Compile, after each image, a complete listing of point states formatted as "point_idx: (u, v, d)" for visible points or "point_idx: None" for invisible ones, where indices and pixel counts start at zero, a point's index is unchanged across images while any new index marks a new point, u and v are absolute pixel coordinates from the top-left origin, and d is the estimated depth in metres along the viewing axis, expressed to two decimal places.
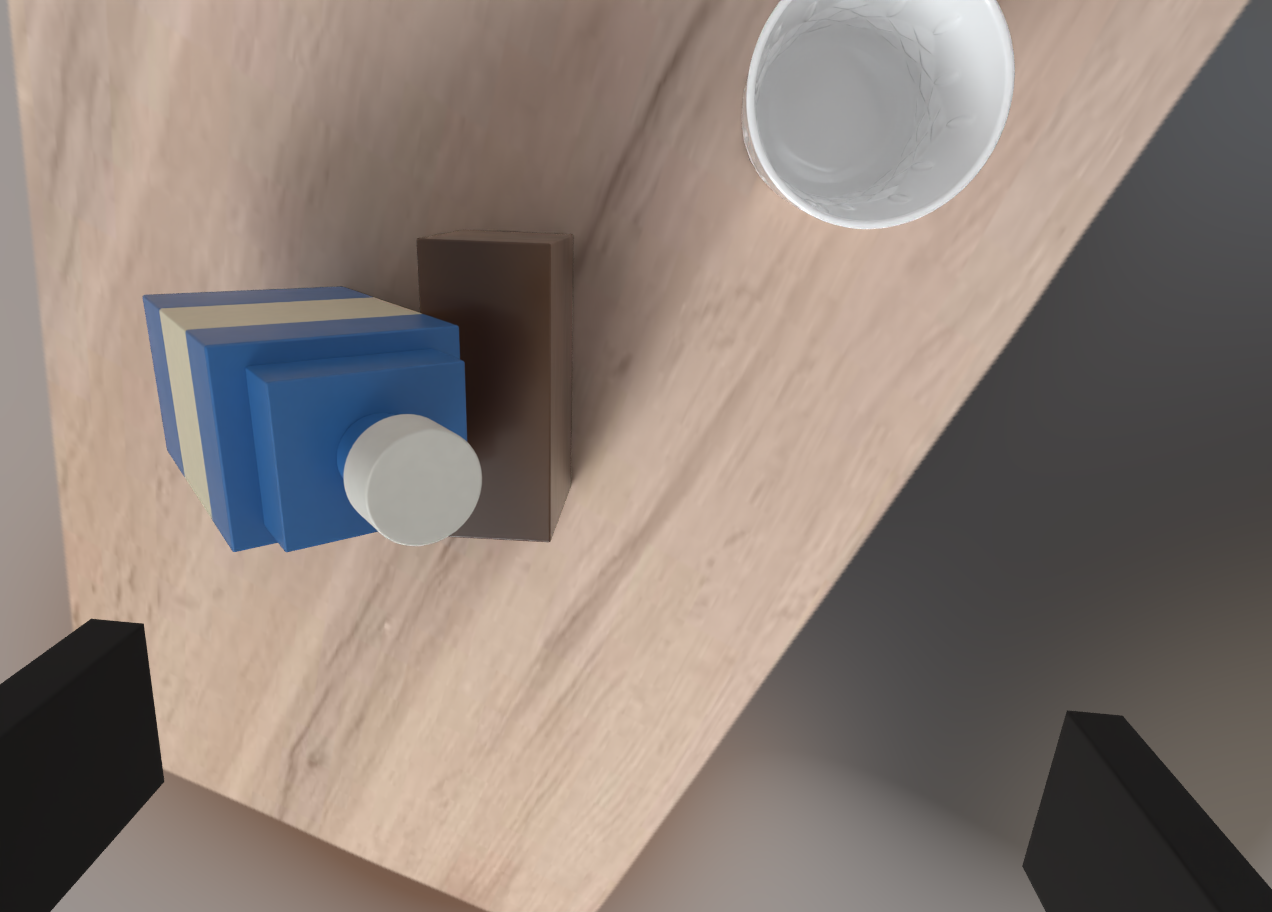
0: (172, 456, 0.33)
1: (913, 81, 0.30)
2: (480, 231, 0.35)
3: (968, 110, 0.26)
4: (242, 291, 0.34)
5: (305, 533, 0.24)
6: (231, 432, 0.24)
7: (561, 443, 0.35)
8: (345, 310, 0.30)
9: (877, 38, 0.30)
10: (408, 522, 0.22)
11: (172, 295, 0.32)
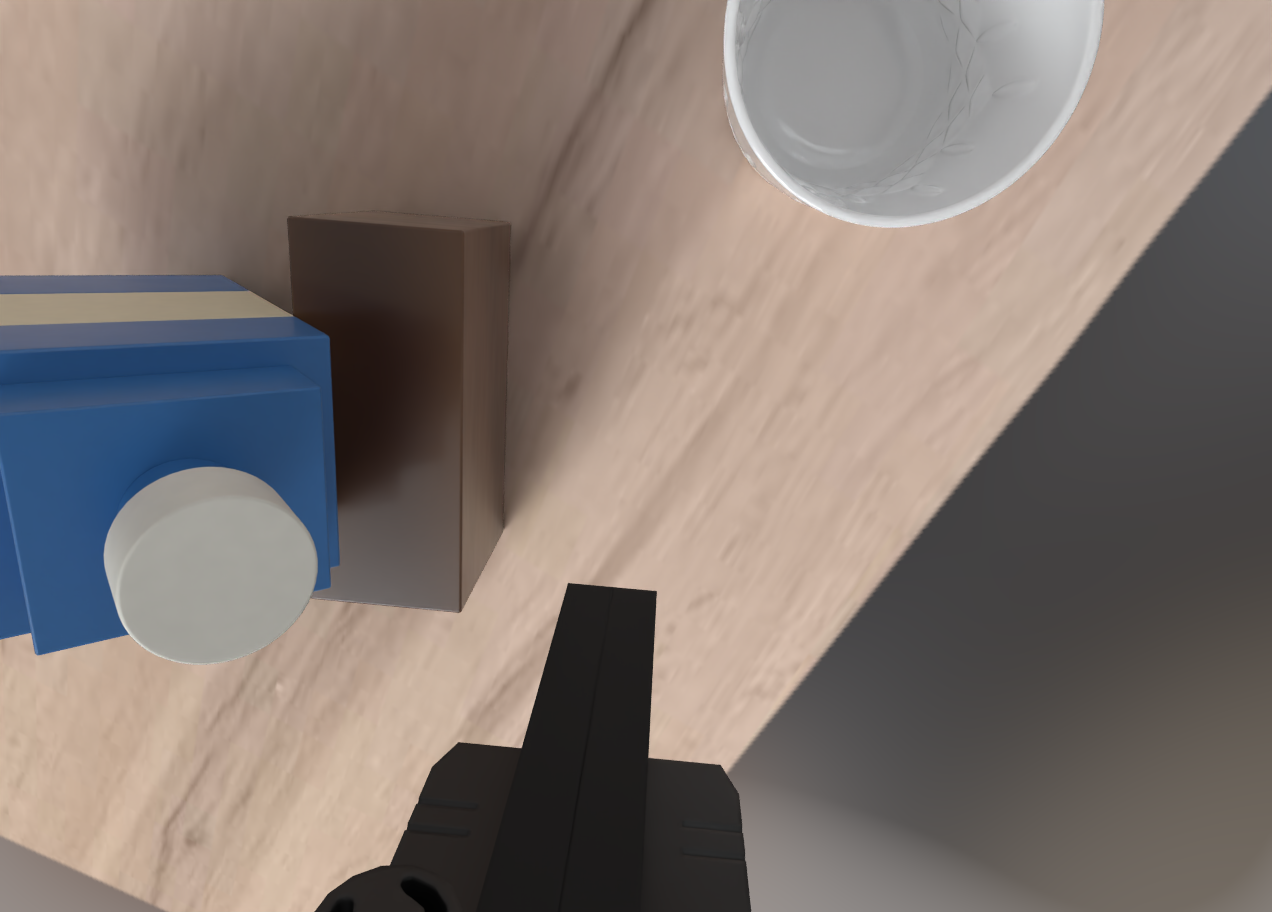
0: None
1: (947, 41, 0.23)
2: (392, 213, 0.28)
3: (1027, 72, 0.19)
4: (81, 276, 0.26)
5: (68, 628, 0.17)
6: None
7: (484, 484, 0.28)
8: (191, 307, 0.23)
9: None
10: (193, 632, 0.15)
11: None
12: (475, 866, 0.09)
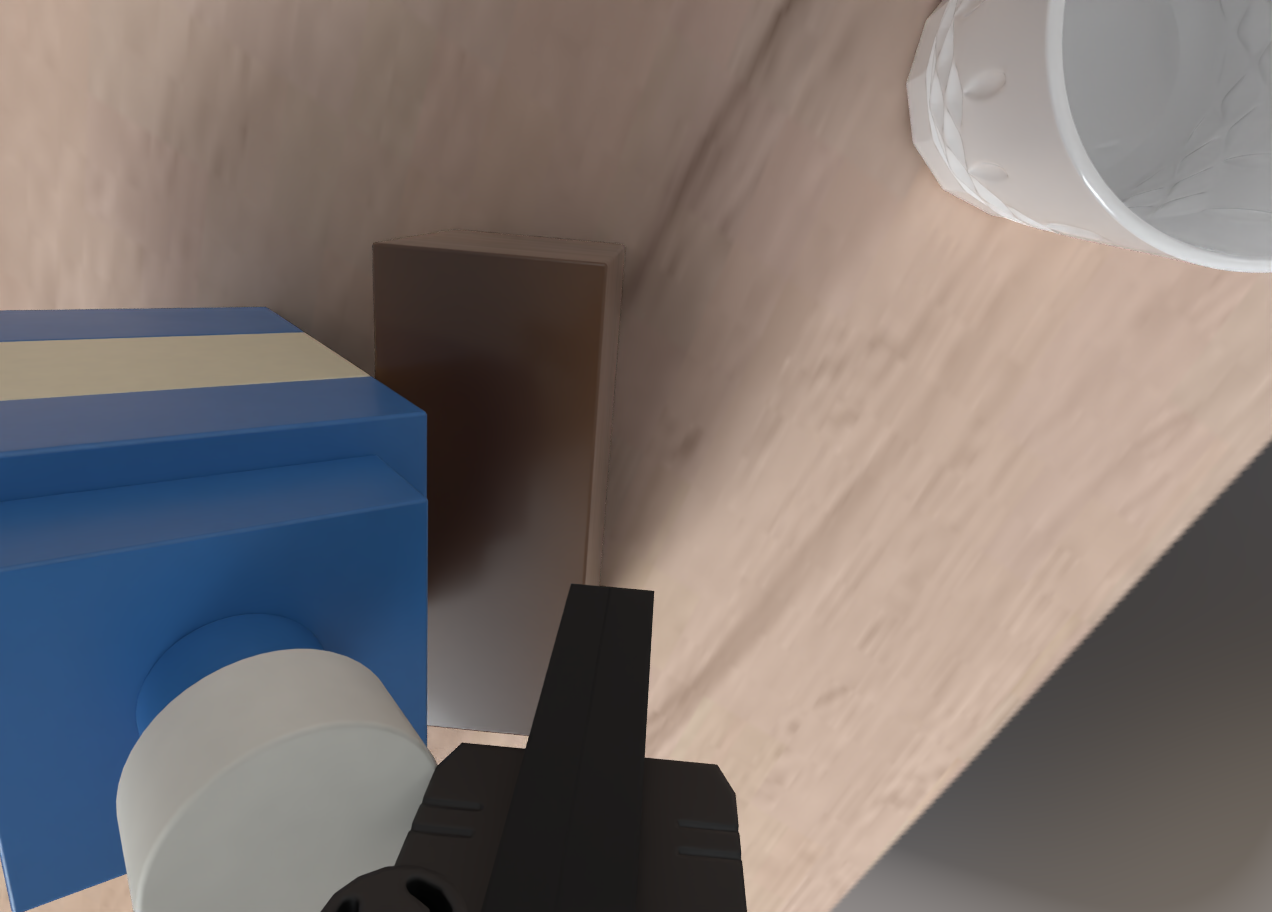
0: None
1: (1224, 19, 0.18)
2: (481, 233, 0.22)
3: None
4: (94, 311, 0.21)
5: (62, 870, 0.11)
6: None
7: (594, 570, 0.22)
8: (236, 362, 0.17)
9: None
10: None
11: None
12: (478, 867, 0.08)
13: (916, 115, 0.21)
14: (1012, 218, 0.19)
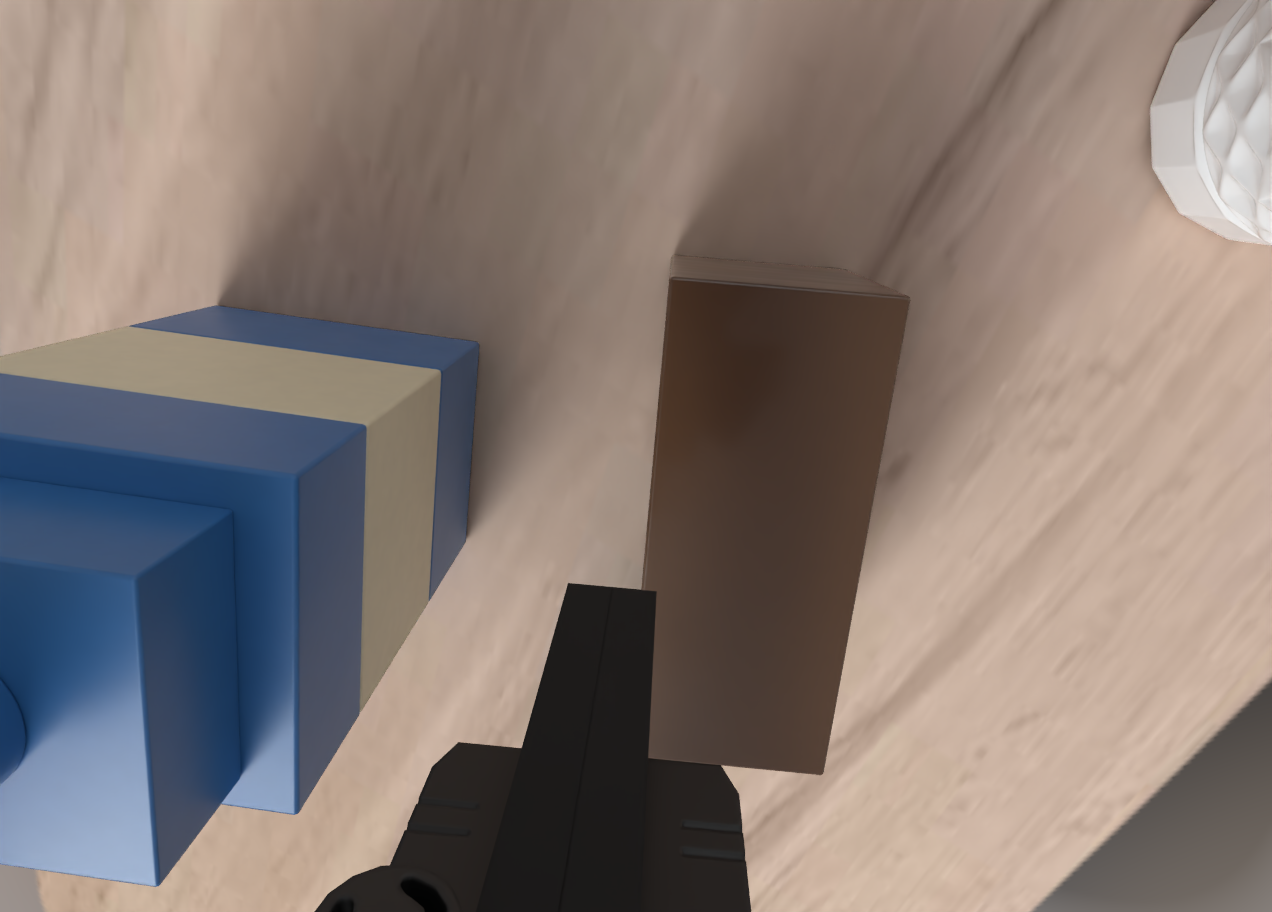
0: None
1: None
2: (708, 259, 0.22)
3: None
4: (329, 323, 0.23)
5: None
6: None
7: None
8: (290, 385, 0.17)
9: None
10: None
11: (234, 312, 0.23)
12: (474, 866, 0.09)
13: (1165, 140, 0.20)
14: None
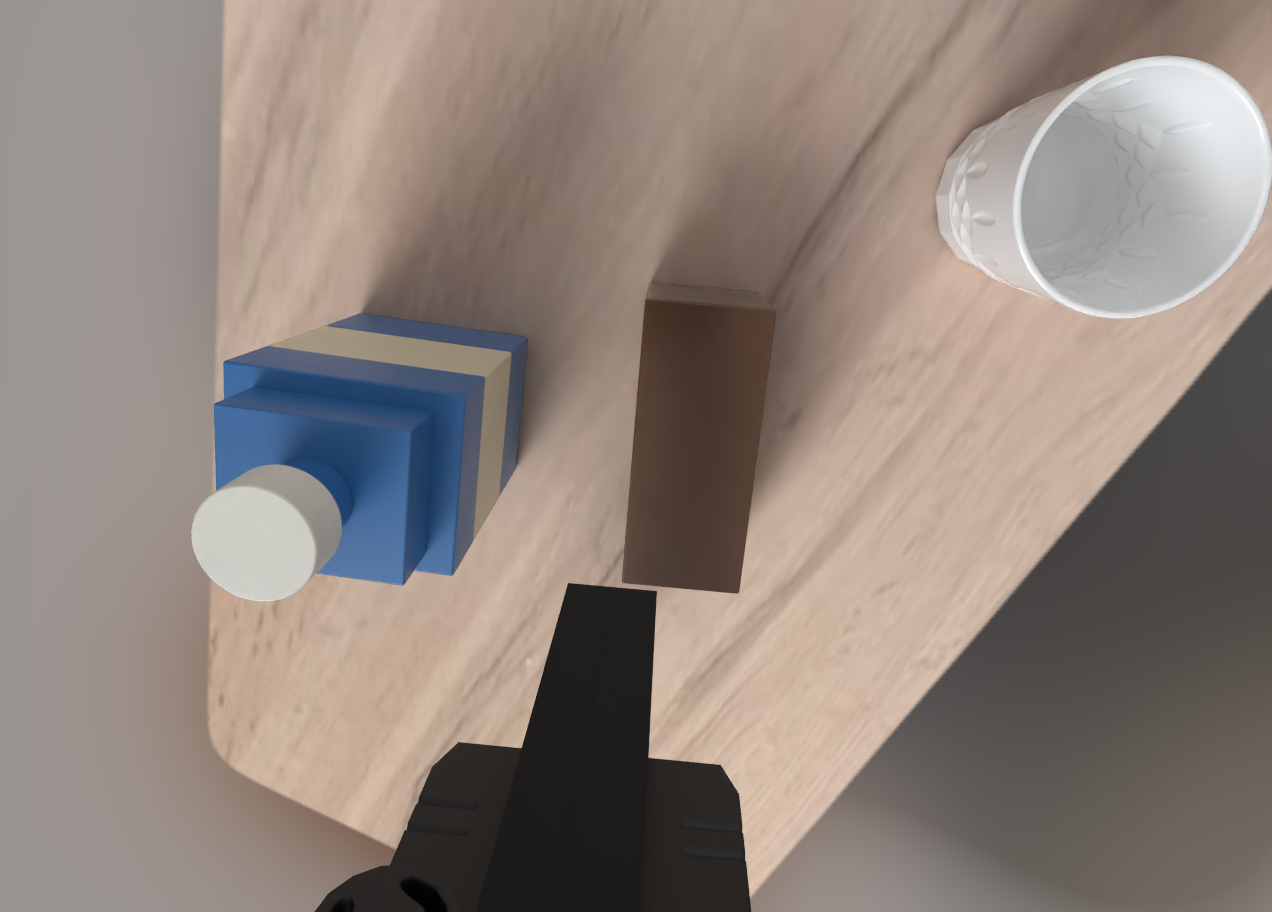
0: None
1: (1118, 169, 0.32)
2: (671, 285, 0.36)
3: (1201, 208, 0.28)
4: (433, 324, 0.37)
5: None
6: None
7: None
8: (436, 357, 0.31)
9: (1087, 127, 0.31)
10: (232, 571, 0.22)
11: (374, 317, 0.37)
12: (475, 866, 0.09)
13: (941, 216, 0.34)
14: (999, 280, 0.33)
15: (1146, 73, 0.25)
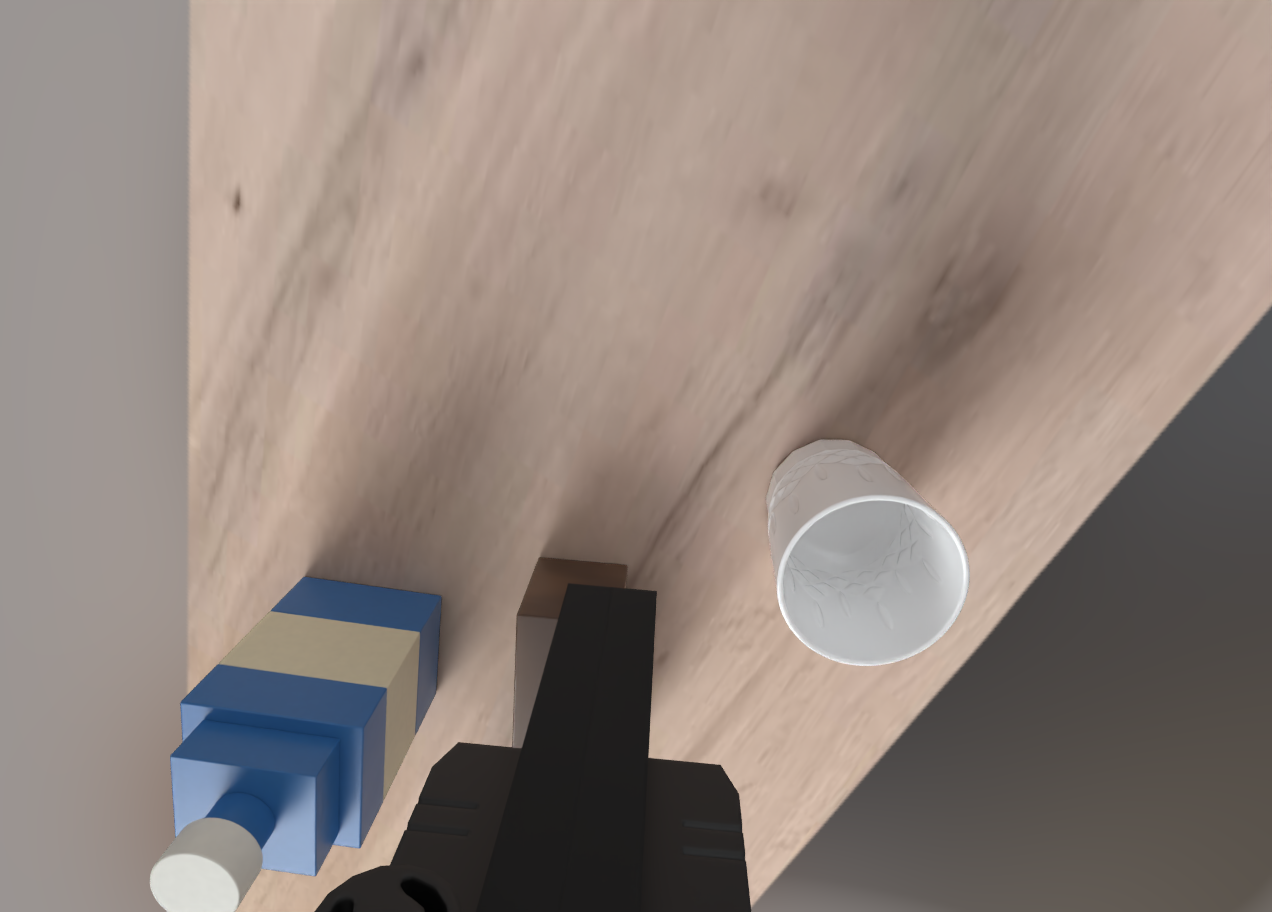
0: None
1: None
2: (554, 564, 0.44)
3: (937, 568, 0.36)
4: (364, 587, 0.45)
5: None
6: None
7: None
8: (353, 658, 0.39)
9: None
10: (179, 905, 0.30)
11: (315, 583, 0.45)
12: (475, 866, 0.09)
13: None
14: None
15: None
